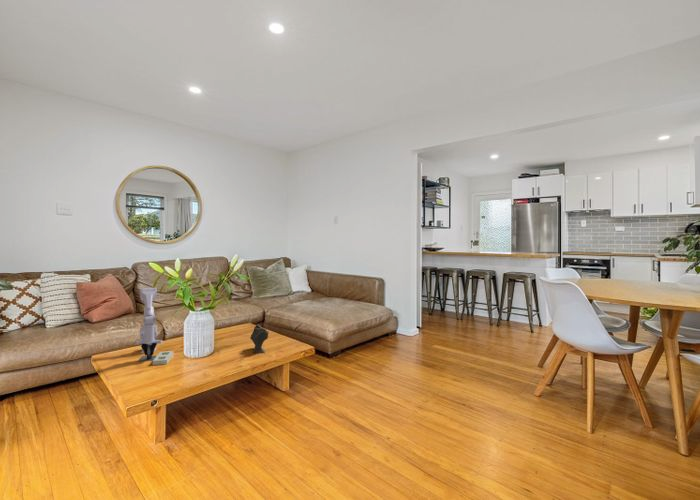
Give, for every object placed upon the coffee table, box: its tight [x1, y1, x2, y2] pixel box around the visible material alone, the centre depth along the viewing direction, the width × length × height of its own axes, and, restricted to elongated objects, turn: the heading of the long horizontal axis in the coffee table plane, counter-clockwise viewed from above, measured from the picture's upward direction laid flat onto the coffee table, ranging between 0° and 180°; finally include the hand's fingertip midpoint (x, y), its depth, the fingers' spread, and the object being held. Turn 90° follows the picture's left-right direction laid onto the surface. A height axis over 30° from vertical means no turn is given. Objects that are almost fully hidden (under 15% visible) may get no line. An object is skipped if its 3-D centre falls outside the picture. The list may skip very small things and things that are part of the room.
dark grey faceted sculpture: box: [249, 324, 269, 354], centre depth 240 cm, size 14×15×18 cm
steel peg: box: [146, 344, 153, 360], centre depth 215 cm, size 3×3×9 cm
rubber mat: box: [136, 354, 158, 363], centre depth 216 cm, size 10×10×1 cm
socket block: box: [152, 350, 174, 366], centre depth 215 cm, size 16×8×3 cm, turn 15°
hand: (149, 354), depth 215 cm, fingers closed on steel peg, 3 cm apart
